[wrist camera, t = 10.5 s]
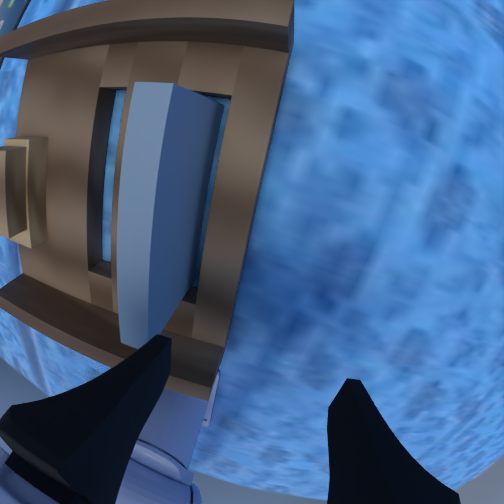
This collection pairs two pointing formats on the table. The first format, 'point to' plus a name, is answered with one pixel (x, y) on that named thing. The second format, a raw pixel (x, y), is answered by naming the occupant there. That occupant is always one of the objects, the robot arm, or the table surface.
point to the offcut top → (12, 190)
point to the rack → (94, 156)
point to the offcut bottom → (33, 189)
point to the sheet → (161, 203)
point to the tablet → (11, 16)
